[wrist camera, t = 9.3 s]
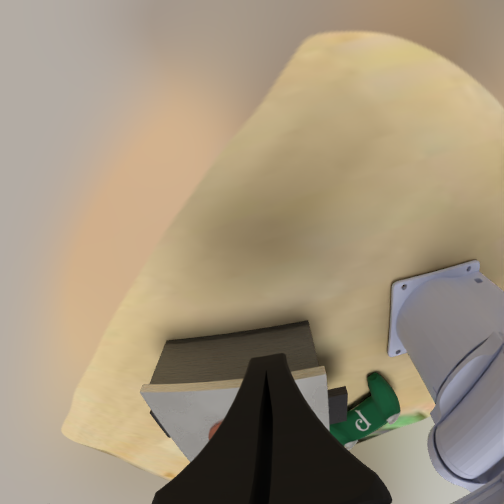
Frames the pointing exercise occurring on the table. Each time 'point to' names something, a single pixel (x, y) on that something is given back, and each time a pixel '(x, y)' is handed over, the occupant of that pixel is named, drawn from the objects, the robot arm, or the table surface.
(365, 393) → the table surface
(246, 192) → the table surface
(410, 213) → the table surface
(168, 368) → the storage bin
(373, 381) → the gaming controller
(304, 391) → the lid
